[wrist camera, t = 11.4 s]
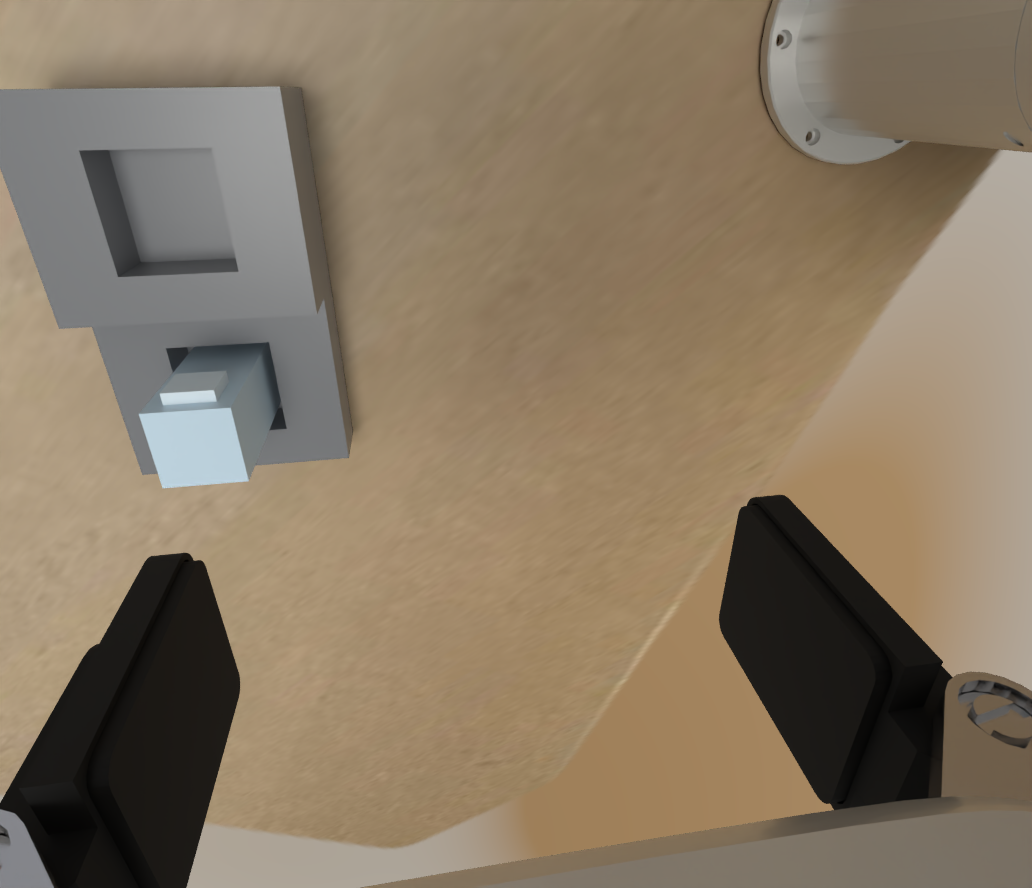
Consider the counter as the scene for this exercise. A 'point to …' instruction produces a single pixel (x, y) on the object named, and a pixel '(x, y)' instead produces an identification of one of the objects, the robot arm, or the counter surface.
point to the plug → (212, 415)
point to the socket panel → (183, 241)
